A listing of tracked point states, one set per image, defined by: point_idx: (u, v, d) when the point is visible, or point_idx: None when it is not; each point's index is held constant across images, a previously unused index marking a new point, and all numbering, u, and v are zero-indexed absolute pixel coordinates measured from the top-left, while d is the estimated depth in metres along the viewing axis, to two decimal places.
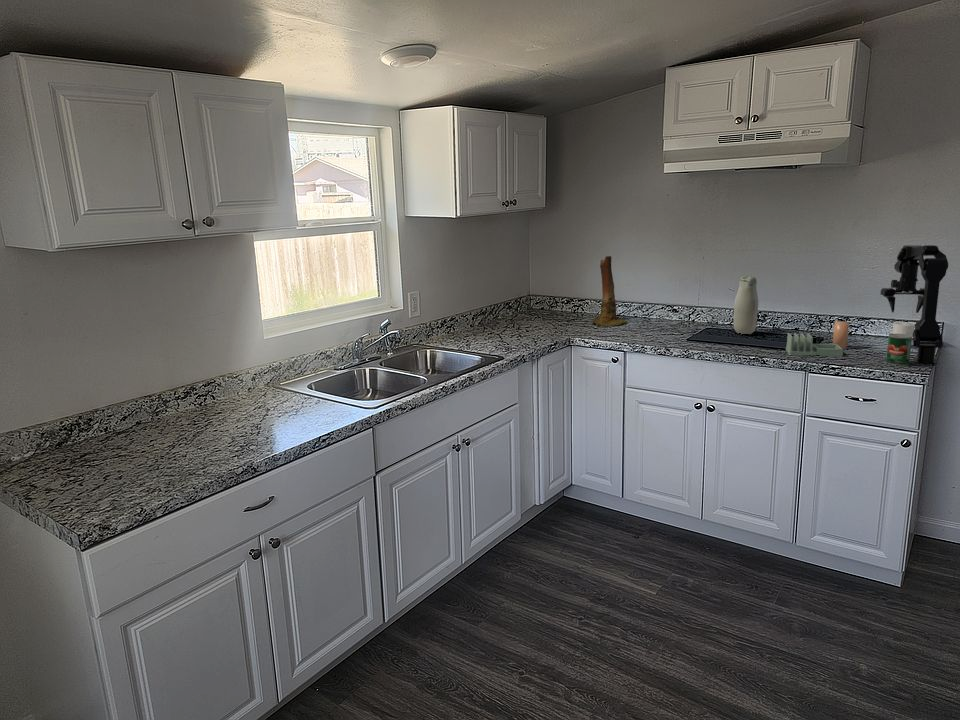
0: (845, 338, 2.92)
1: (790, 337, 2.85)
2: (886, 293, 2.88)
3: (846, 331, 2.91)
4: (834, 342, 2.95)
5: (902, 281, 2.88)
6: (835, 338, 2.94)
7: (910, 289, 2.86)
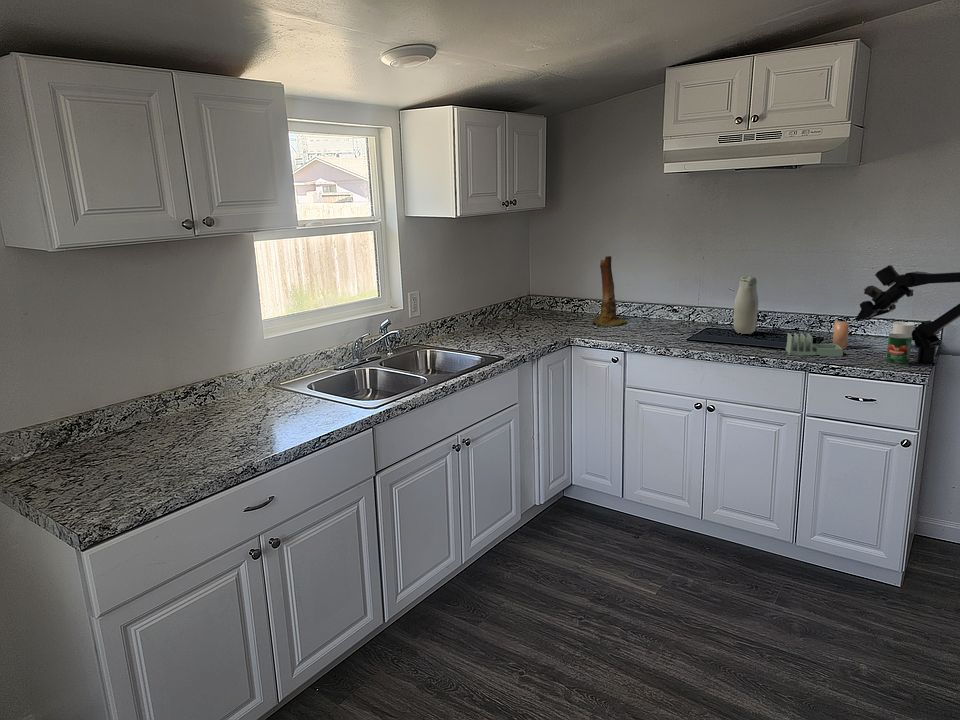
0: (845, 338, 2.92)
1: (790, 337, 2.85)
2: (871, 314, 2.74)
3: (846, 331, 2.91)
4: (834, 342, 2.95)
5: (886, 301, 2.74)
6: (835, 338, 2.94)
7: (886, 309, 2.77)
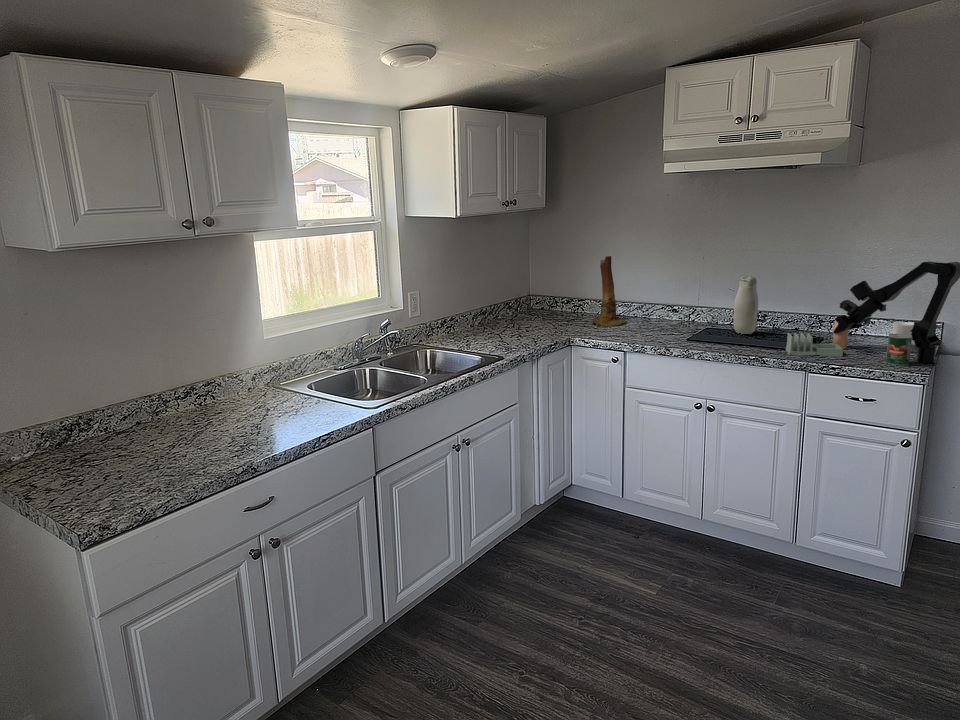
0: (845, 338, 2.92)
1: (790, 337, 2.85)
2: (846, 328, 2.83)
3: (846, 331, 2.91)
4: (834, 342, 2.95)
5: (860, 315, 2.84)
6: (835, 338, 2.94)
7: (860, 322, 2.87)
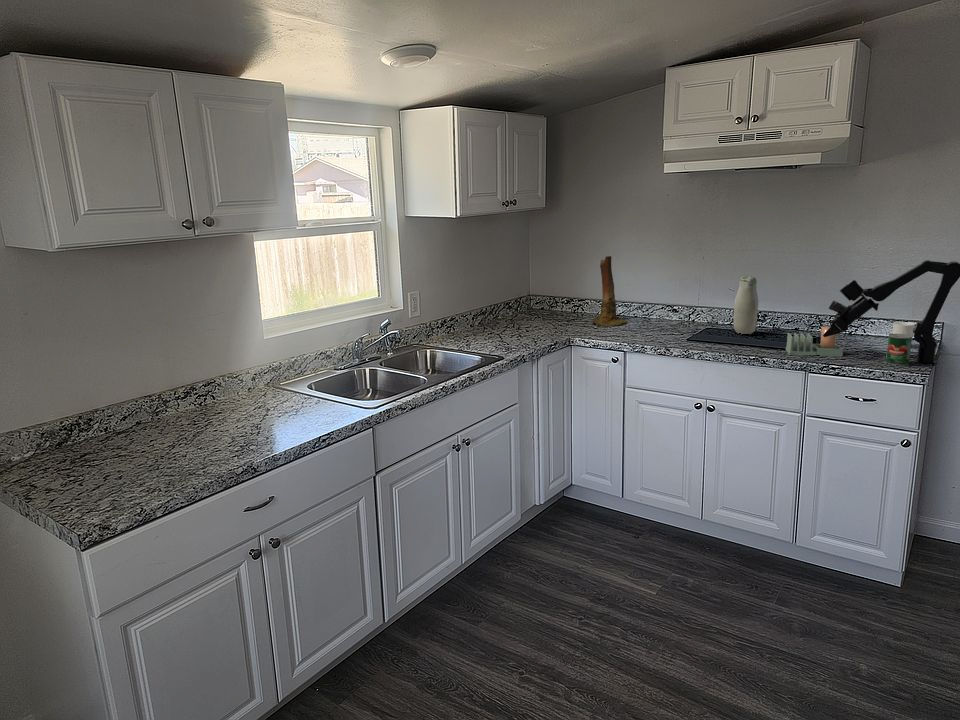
0: (834, 343, 2.82)
1: (790, 337, 2.85)
2: None
3: (835, 336, 2.82)
4: None
5: (854, 316, 2.75)
6: (825, 344, 2.83)
7: None
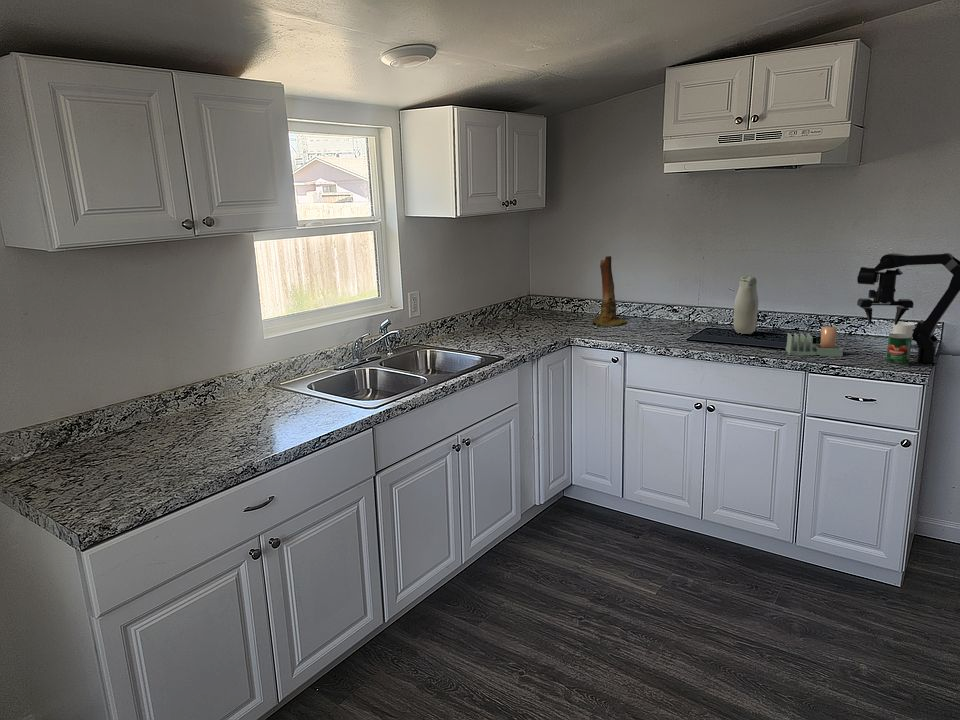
0: (834, 343, 2.82)
1: (790, 337, 2.85)
2: (863, 304, 2.73)
3: (835, 336, 2.82)
4: None
5: (879, 291, 2.72)
6: (825, 344, 2.83)
7: (888, 300, 2.71)
